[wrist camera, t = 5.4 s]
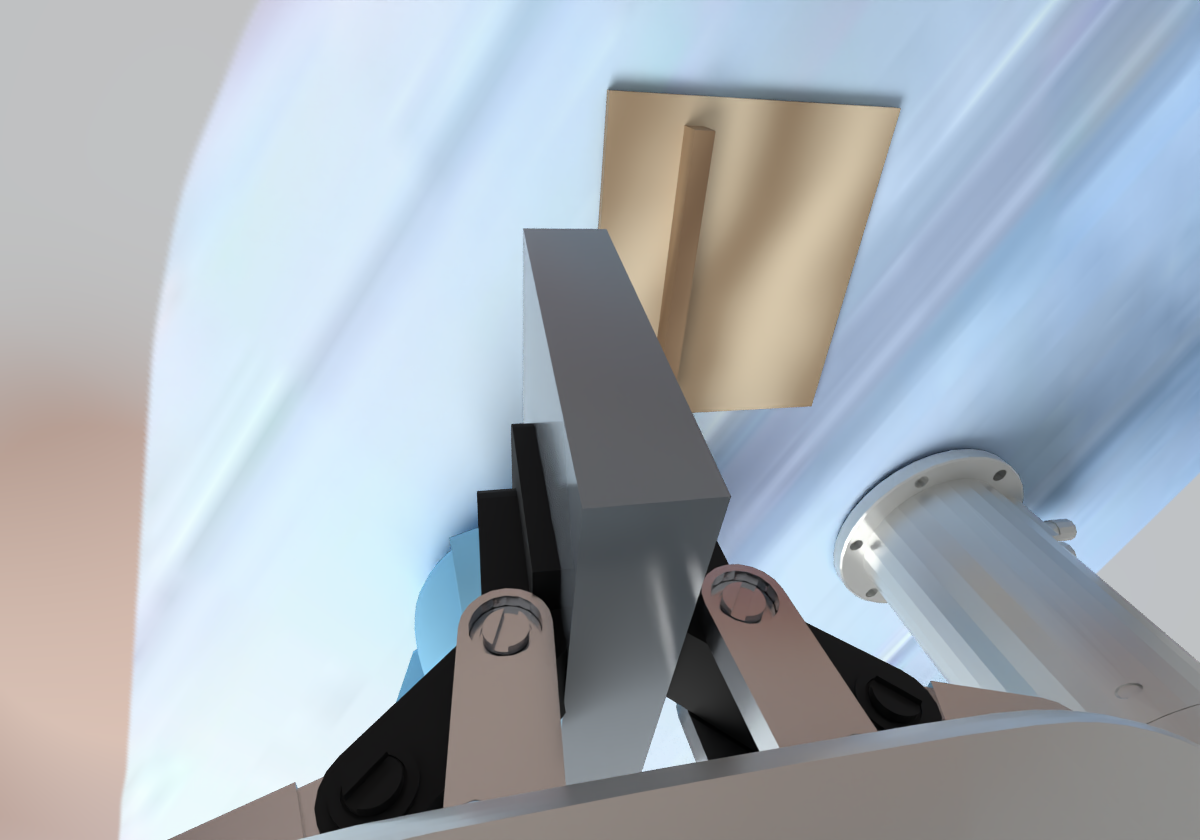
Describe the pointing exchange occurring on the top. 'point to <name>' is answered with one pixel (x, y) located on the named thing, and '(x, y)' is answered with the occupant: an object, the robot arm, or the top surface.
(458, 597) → the teapot
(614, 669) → the tile
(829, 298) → the wooden ridged plate
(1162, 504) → the top surface
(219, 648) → the top surface
